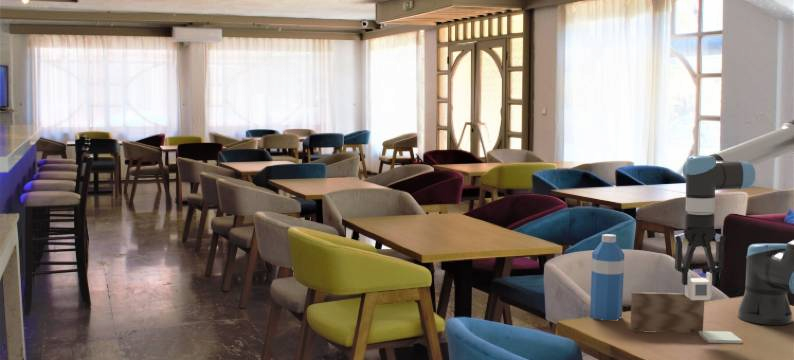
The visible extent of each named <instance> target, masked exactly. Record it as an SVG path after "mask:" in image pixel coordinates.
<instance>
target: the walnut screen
mask: <svg viewBox="0 0 794 360" xmlns="http://www.w3.org/2000/svg"><path fill="white" fill-rule="evenodd" d="M630 303H631V304H630V321H629V322H630V327H629V329H631V330H630V332H634V331H635V332H644V331H656V332H655V333H676V334H677V333H683V334H687V333H688V334H692V335H699V331H704V318H705V317H704V314H705V300H691V299H690V298H688V297H686V296H685V292H653V291H652V292H649V291H647V292H646V291H631V301H630ZM635 332H634V333H635ZM644 333H645V332H644Z"/></svg>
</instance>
